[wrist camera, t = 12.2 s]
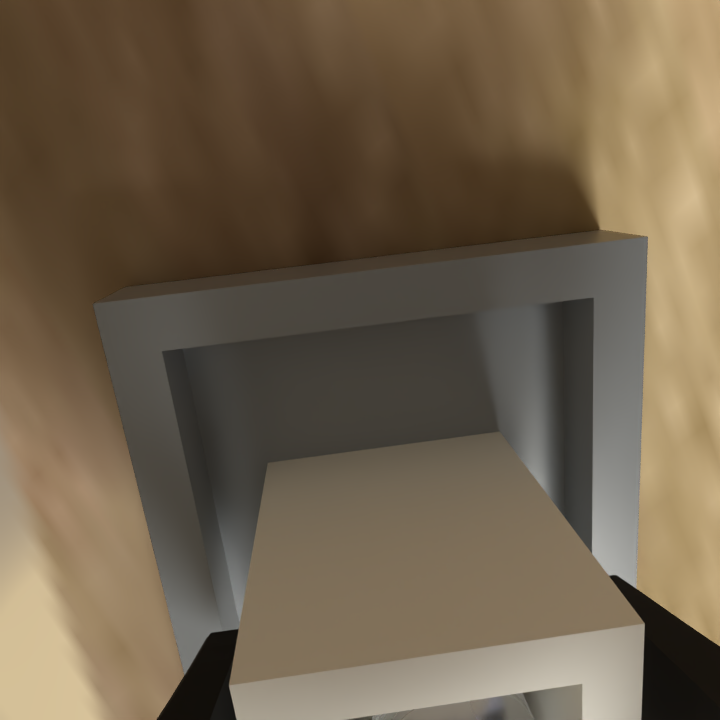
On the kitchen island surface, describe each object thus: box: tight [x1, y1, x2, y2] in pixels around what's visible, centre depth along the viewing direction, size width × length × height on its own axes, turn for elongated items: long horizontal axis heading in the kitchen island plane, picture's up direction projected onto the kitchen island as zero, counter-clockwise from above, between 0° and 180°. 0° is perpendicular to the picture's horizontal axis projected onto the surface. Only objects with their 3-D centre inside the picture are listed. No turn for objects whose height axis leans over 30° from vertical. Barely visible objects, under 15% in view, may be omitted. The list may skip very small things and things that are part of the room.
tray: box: [93, 230, 648, 675], centre depth 13 cm, size 14×10×2 cm
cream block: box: [229, 432, 645, 720], centre depth 11 cm, size 5×5×6 cm
